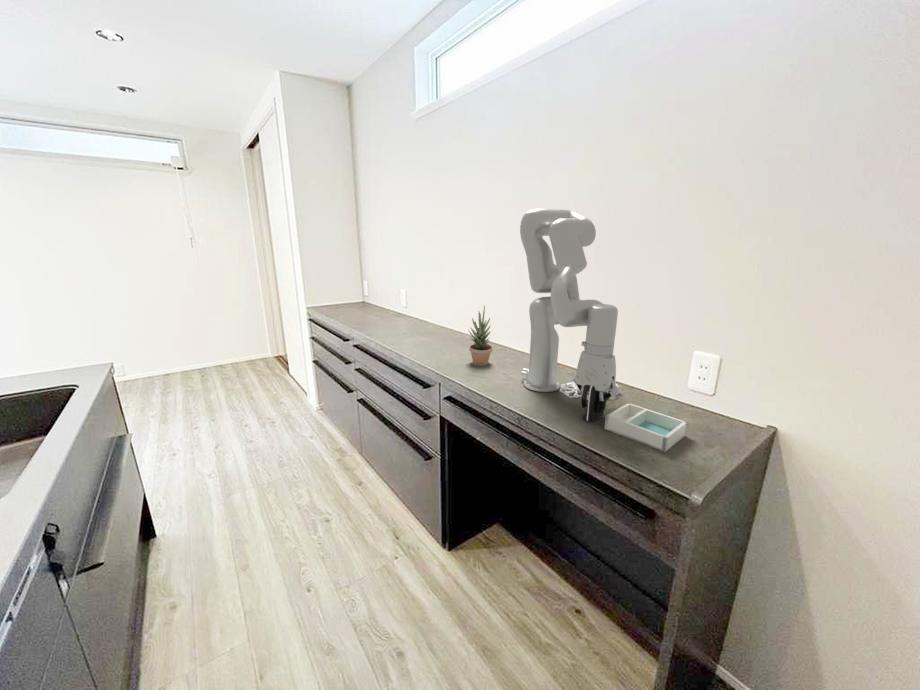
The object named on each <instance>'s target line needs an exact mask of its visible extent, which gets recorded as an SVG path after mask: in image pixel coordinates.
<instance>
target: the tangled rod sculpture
mask: <svg viewBox="0 0 920 690" xmlns="http://www.w3.org/2000/svg"><path fill="white" fill-rule="evenodd" d="M615 384H616V386H617V389H618V390H619V389H620V386H619V385H618V384H617V383H615ZM559 391H560V393H561V394H562V393H563V395H564V396H567V397H569V398H575V399H578V398H579V397H581V398H582V395H581V394H579V393H580V390H579V388H578V387H577V385H576V384H575V383H574V382H573V381H572V382H567V383H564V384H560V388H559ZM608 392H611V389H609V391H608ZM573 393H574V394H573ZM570 394H573V396H572V395H570Z"/></svg>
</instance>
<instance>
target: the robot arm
mask: <svg viewBox="0 0 920 690" xmlns="http://www.w3.org/2000/svg"><path fill="white" fill-rule="evenodd" d="M519 225H520V226H519V229H520V230H519V234H520V235H519V236H520V239H521V243H522V246H523V249H524V251H525V256H526V261H527V263H526V264H527V269H528V278H529V284H530V287H531V290H532V292H534V293H537V294H550V295H549V296H541V297H537V298H535V299H534V300H533V301H531V302H530V304H529V308H528V310H529V311H528V313H529V321H530V322H529V323H530V345H529V346H530V347H529V362H528V368H525V367H524V368H522V371H521V372H520V375H522V376H525V379H524V380H523V386H524V387H525V388H527V389H528V390H531V391H535V392H539V393H550V392H555V391H558V390H560V388H561V383H560V382H559V381H558V380H557V372H558V371H557V368H558V359H559V357H558V356H559V355H558V354H559V346H560V345H559V343H560V338H559V337H560V336H559V334H558V332H557V330H556V329H555V326H557V325H560V326H562V327H563V328H564V327H565V328H575V327H576V328H577V327H586V334H585V341H581V343H580V344H581V346H582V347H583V348H584V349H583V350H582V351H581V353H580V356H579V357H578V364H577V367H576V373H575V376H574V377H573V379H572V382H574V383H575V384H576V385H577V387H578V388H579V390H580V392H579V393H580V395H582V396H583V388H584V386H585V385H593V386H594V387H595V390H596V391H599V400H598V401H597V408H596V413H598V414H599V413H601V412H603V411H604V412H605V409H606V403H607V399H609V398H612V397H615V396H617V395H619V394H620V391H619V389H617V386H616V384H617V383H616V379H617V377H616V376H617V362H616V356H615V355H614V350H615V349H614V348H615V339H616V331H617V323H618V315H619V310H618V308H617V306H615V305H613V304H607V303H606V304H605V303H603V302H601V301H599V300H596V299H581V298H580V293H579V292H580V291H579V284H578V279H577V274H580V273H581V272H583V271H584V270H585V269H586V268H587V266H588V265H587V264H588V262H587V259H586V254H585V251H584V248H585V247H589V246H591V245H592V244H593V243H594V242H595V239H596V237H597V235H596V227H595V225H594V223H593V221H592V220H590V219H589V218H588V217H585V216H583V215H581V214H579V213H577V212H575V211H573V210H570V209H558V208H534V209H530V210H528V211H526V212H525V213H524V214H523V215H522V218H521V221H520V224H519ZM544 237H549V240H550V245H551V247H550V245H549V244H548V242H547V241H546V240H545V239H544ZM551 249H552V250H551ZM553 257H554V258H553ZM554 260H555V263H554ZM609 389H611V391H609ZM582 396H581V397H582ZM580 401H581V402H580V404H581V408H582V409H586V402H585V400H584V399H582V398H581V399H580Z"/></svg>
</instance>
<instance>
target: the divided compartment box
mask: <svg viewBox="0 0 920 690" xmlns="http://www.w3.org/2000/svg"><path fill="white" fill-rule="evenodd" d="M604 420H605V421H604V426H603V427H604V428H603V429H604V430H606V431H609V432H612V433H614V434H616V435H619V436H621V437H623V438H626V439H629V440H631V441H634V442H636V443H639V444H641V445H643V446H647V447H649V448H651V449H654V450H656V451H659V452H661V453H666V452H667V451H668V450H669V449H671V448H672V447H673V446H674V445H676V444H677V443H678V442H679V441H680V440H682V439H683V438H684V437H685V436H686V432H687V431H686V430H687V428H688V427H687V426H688V421H685V420H682V419H679V418H676V417H673V416H669V415H667V414H664V413H660V412H657V411H656V410H655V411H654V410H652V409H648V408H645V407H642V406H639V405H636V404H633V403H630V402H628V403H626V404H624V405H622V406H620V407H619V408H617V409H616V410H613V411H612V412H610V413H608V414H606V415H605V419H604Z"/></svg>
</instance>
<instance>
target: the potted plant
mask: <svg viewBox="0 0 920 690" xmlns="http://www.w3.org/2000/svg"><path fill="white" fill-rule="evenodd" d="M485 313H486V307H485V305H483V311H482V314H481V312H480V311H478V313H477V314H478V315H477V316H478V325H477V322H476V321H475V320H474V318H473V317H472V318H471V319H472V320H471V321H472V323H473V327H474V329H475V330H474V329H473V328H472V327H470V330H471V331H470V330H468V332H469V334H470V336H471V337H472V338H471V337H470V339H471V341H472V342H473V344H470V345H469V346H468V347H469V349H468V350H469V352H470V355H471V359H472V363H473V365H475V366H481V367H482V366H486V365H488V364H489V359H490V356H491V353H492V352H493V346H492V345H490V344H489V342H490V340H489V339H490V337H488V336H489V335H491V331H489V330H490V328H491V325H489V323H490V320H491V317H489V319H487V320H485ZM488 325H489V326H488Z"/></svg>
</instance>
